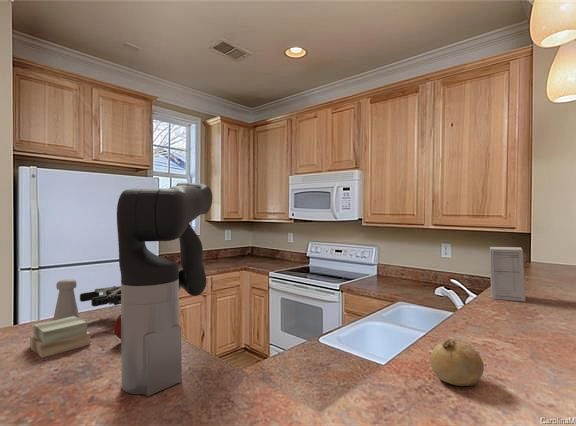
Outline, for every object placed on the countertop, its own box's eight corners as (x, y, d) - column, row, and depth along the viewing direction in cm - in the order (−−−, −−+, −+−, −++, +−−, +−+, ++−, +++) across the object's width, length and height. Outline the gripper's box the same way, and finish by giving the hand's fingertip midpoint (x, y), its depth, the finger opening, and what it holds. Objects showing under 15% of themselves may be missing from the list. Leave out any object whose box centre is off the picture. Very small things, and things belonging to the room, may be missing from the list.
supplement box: (523, 296, 112) (522, 247, 112) (526, 302, 104) (524, 249, 104) (490, 293, 117) (489, 246, 117) (490, 298, 109) (489, 248, 109)
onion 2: (438, 366, 60) (437, 327, 61) (488, 378, 55) (486, 336, 56) (425, 383, 54) (423, 340, 54) (479, 399, 49) (478, 351, 49)
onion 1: (130, 347, 71) (130, 310, 72) (107, 346, 73) (107, 309, 73) (147, 338, 77) (147, 304, 77) (126, 336, 78) (125, 303, 79)
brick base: (90, 344, 74) (90, 322, 74) (41, 357, 67) (41, 333, 67) (75, 335, 80) (75, 315, 80) (29, 347, 73) (30, 324, 73)
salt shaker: (57, 336, 79) (57, 282, 80) (49, 331, 83) (48, 280, 83) (83, 329, 84) (83, 279, 84) (74, 325, 88) (74, 277, 88)
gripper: (134, 275, 104) (76, 283, 92) (157, 279, 95) (96, 289, 83) (134, 298, 104) (76, 309, 92) (157, 305, 95) (96, 319, 82)
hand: (85, 300), depth 87 cm, fingers open, 8 cm apart
